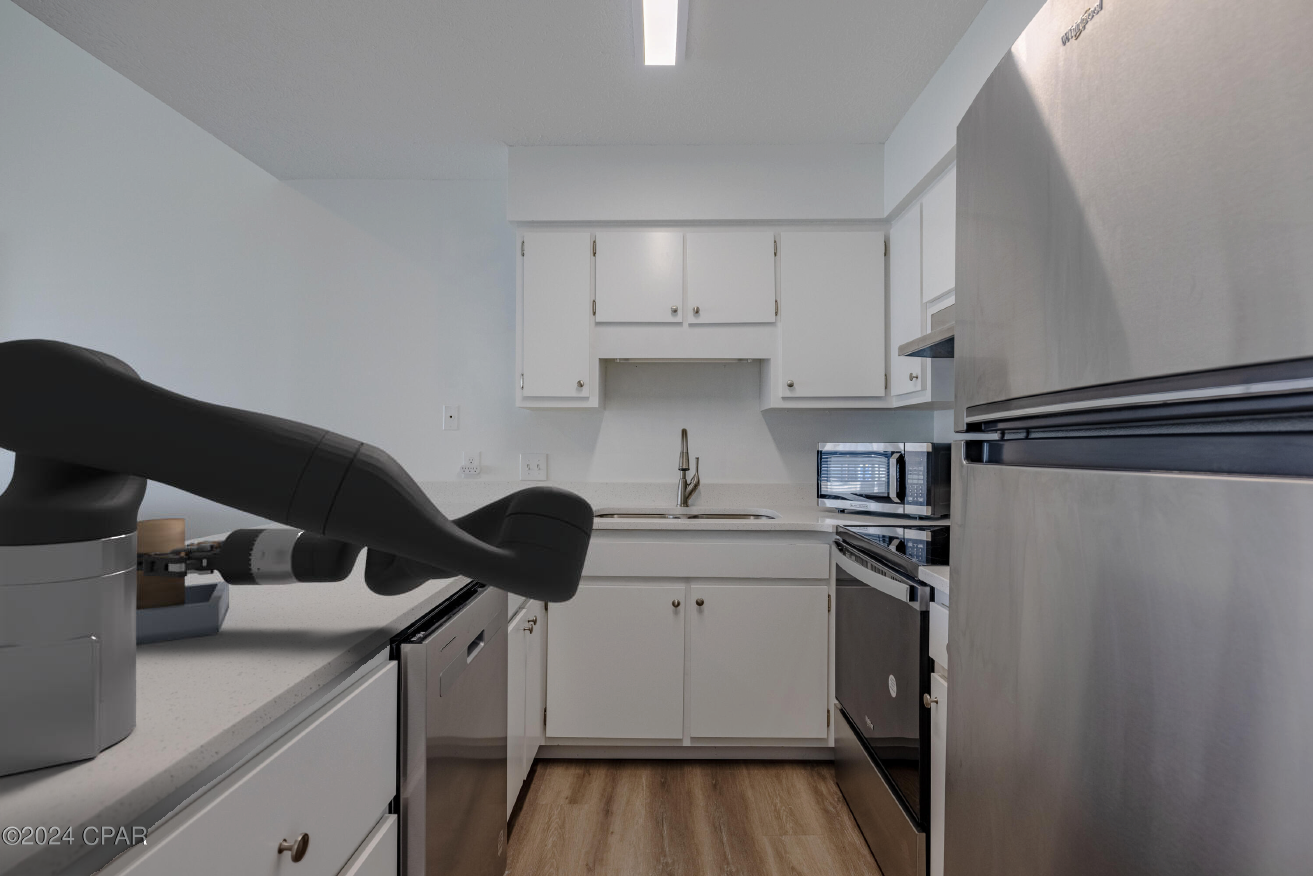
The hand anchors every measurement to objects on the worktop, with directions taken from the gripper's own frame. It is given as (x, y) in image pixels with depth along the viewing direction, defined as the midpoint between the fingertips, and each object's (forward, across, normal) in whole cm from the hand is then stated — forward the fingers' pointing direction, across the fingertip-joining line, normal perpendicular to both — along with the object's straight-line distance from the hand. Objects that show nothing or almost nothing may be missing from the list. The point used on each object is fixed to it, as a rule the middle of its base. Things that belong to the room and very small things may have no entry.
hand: (140, 557), depth 81 cm
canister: (-3, 0, -7) cm, 8 cm away
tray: (-3, 0, -9) cm, 10 cm away
